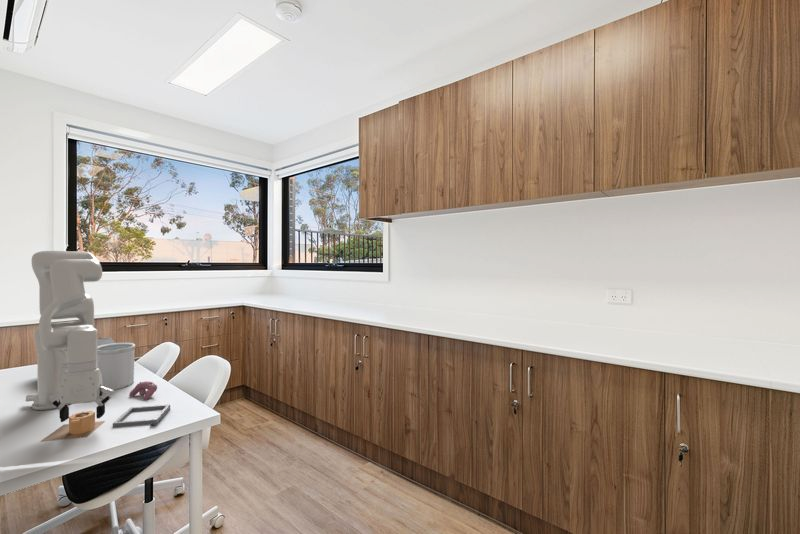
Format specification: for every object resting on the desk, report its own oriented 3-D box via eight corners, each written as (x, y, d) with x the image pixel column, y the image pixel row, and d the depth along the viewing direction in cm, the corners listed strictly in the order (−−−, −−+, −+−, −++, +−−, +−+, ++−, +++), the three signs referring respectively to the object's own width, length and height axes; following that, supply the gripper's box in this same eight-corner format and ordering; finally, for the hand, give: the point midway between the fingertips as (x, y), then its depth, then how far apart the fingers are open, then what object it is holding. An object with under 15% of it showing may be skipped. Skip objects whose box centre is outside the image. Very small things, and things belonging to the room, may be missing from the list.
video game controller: (154, 401, 152) (161, 383, 155) (144, 399, 148) (152, 381, 151) (136, 398, 156) (144, 380, 158) (127, 396, 152) (134, 379, 155)
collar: (62, 437, 116) (62, 421, 116) (76, 426, 123) (76, 411, 123) (85, 435, 118) (85, 419, 118) (97, 424, 125) (97, 410, 125)
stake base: (40, 444, 113) (40, 425, 113) (63, 426, 125) (63, 410, 125) (86, 439, 116) (86, 421, 116) (105, 423, 128) (105, 407, 128)
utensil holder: (127, 389, 161) (127, 349, 161) (86, 392, 157) (86, 351, 157) (140, 378, 175) (140, 341, 175) (103, 381, 171) (103, 343, 171)
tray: (112, 429, 123) (112, 423, 123) (130, 412, 137) (130, 407, 137) (156, 425, 127) (156, 419, 127) (170, 409, 140) (170, 404, 140)
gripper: (42, 371, 115) (42, 426, 115) (107, 367, 119) (108, 420, 120) (57, 365, 122) (57, 417, 122) (118, 361, 127) (118, 411, 127)
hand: (82, 418), depth 121 cm, fingers open, 9 cm apart
